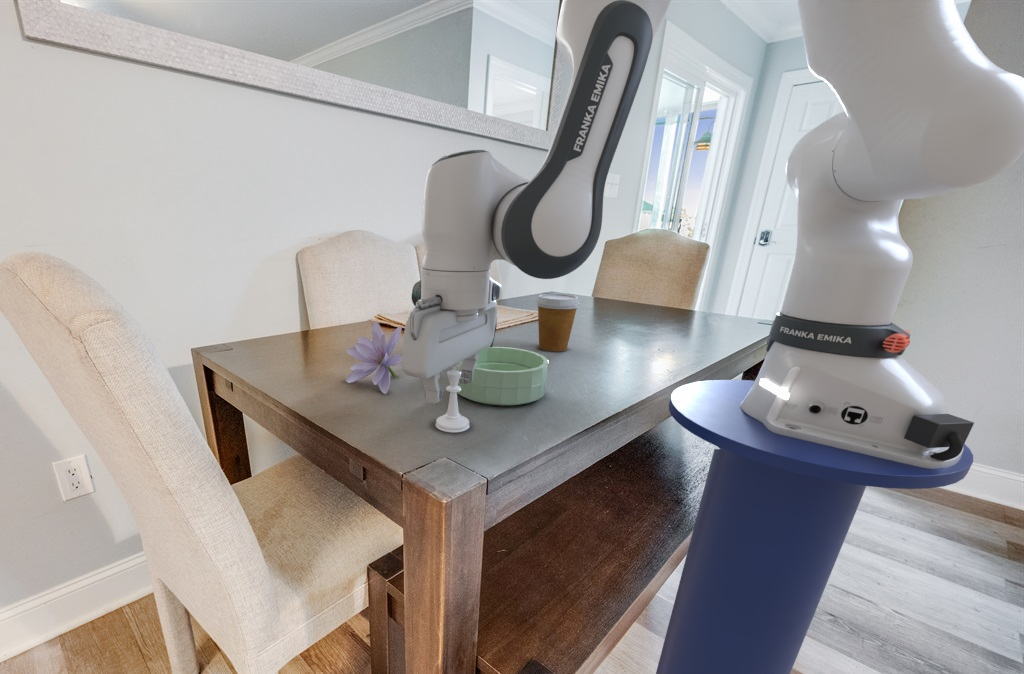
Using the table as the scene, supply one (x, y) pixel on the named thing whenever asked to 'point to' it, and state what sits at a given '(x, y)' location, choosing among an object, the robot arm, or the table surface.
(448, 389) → the chess piece
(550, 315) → the disposable coffee cup
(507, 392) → the mint green pet bowl
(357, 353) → the water lily
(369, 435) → the table surface
